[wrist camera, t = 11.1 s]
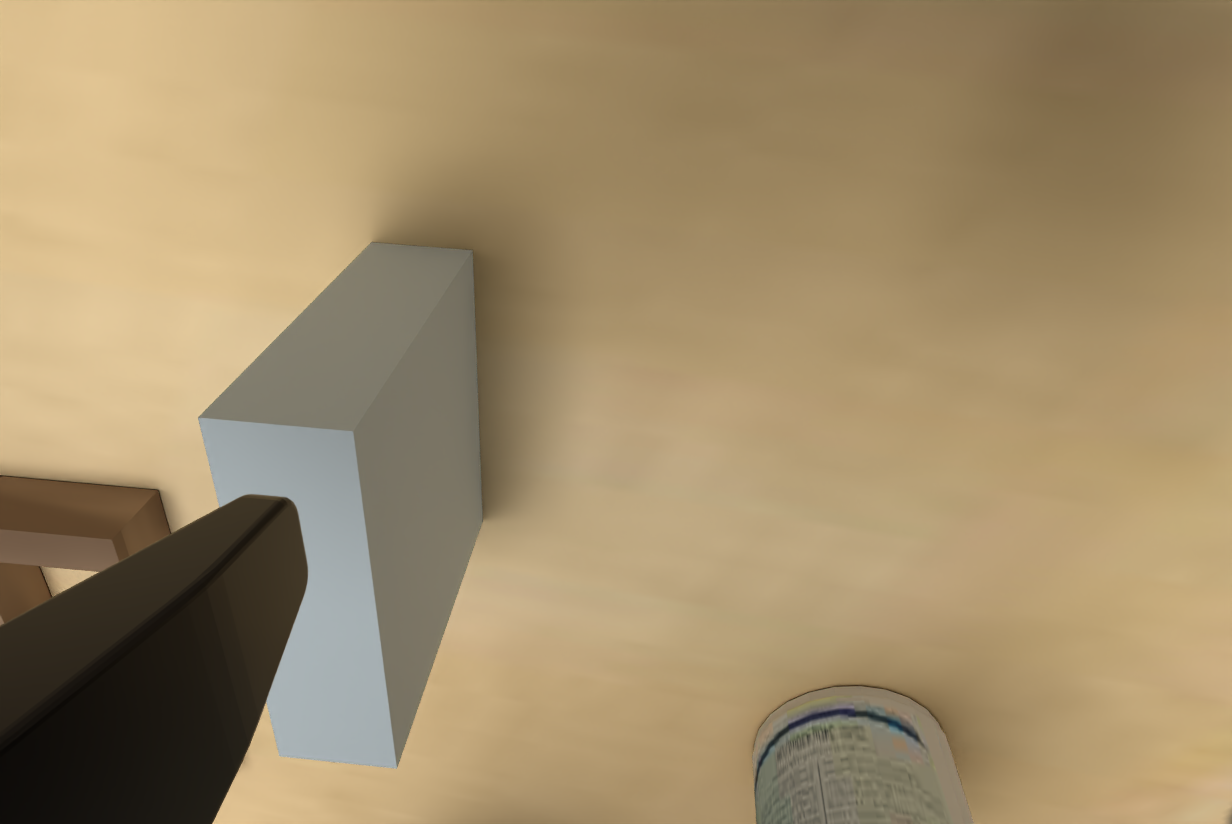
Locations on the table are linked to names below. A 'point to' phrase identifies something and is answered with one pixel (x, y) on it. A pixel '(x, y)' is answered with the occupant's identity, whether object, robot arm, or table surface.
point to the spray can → (855, 762)
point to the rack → (68, 533)
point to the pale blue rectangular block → (364, 489)
